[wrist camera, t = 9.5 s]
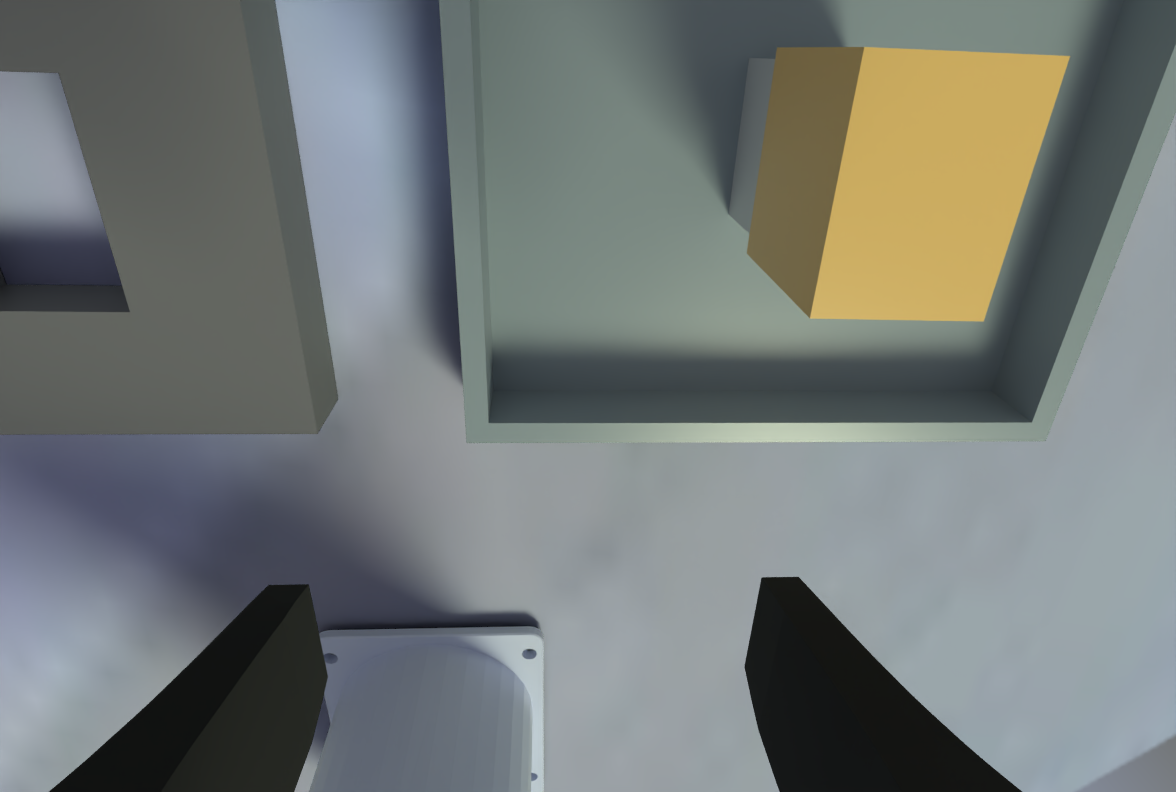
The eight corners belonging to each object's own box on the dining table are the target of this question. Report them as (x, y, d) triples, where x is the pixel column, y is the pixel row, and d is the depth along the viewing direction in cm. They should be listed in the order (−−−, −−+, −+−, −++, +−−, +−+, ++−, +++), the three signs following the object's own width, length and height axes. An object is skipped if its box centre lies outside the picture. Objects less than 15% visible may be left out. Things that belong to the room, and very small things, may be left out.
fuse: (829, 224, 18) (983, 321, 11) (716, 222, 17) (809, 318, 11) (863, 53, 16) (1070, 56, 10) (737, 47, 16) (864, 47, 9)
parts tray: (992, 399, 21) (1045, 441, 19) (475, 399, 20) (466, 442, 18) (1189, -173, 15) (1304, -213, 12) (442, -215, 14) (422, -265, 11)
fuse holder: (338, 399, 20) (317, 433, 18) (-95, 398, 19) (-161, 434, 17) (258, -103, 14) (217, -124, 12) (-354, -130, 14) (-490, -157, 12)
